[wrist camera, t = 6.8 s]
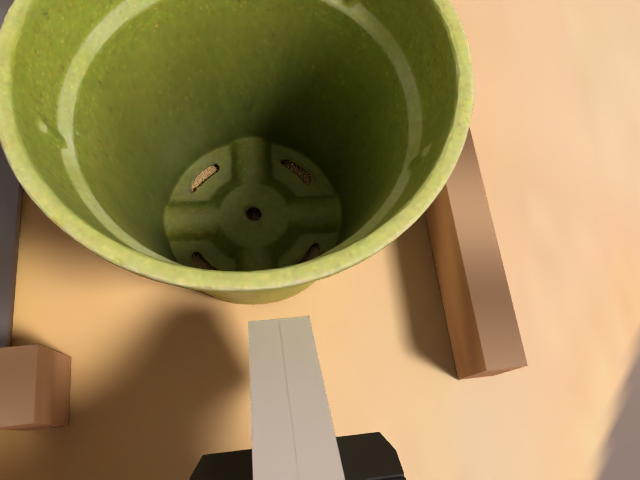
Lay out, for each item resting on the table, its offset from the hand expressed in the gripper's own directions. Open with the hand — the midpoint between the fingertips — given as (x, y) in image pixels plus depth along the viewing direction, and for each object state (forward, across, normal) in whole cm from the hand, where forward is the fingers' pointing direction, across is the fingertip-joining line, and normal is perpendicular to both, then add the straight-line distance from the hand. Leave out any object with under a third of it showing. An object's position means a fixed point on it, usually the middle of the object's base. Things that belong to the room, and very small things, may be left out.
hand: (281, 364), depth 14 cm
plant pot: (+6, 0, +1) cm, 7 cm away
